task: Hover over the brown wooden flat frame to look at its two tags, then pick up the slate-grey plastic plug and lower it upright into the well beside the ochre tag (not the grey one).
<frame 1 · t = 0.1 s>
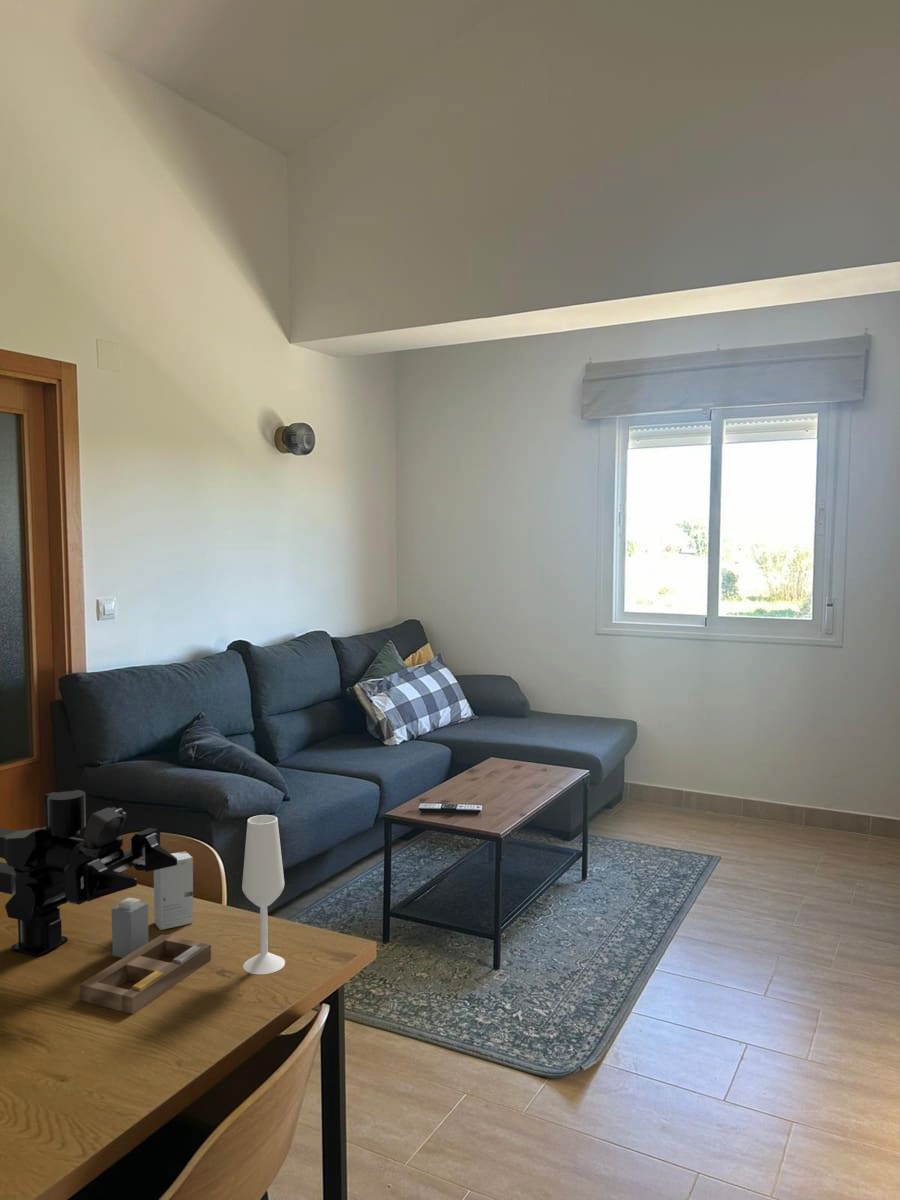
hand: (157, 871, 138), 17 cm above the table, tool horizontal, fingers open, 9 cm apart
plug: (130, 952, 146), on the table
skincare box: (174, 923, 158), on the table
champagne flute: (264, 965, 142), on the table
brown wooden flat frame: (148, 979, 137), on the table
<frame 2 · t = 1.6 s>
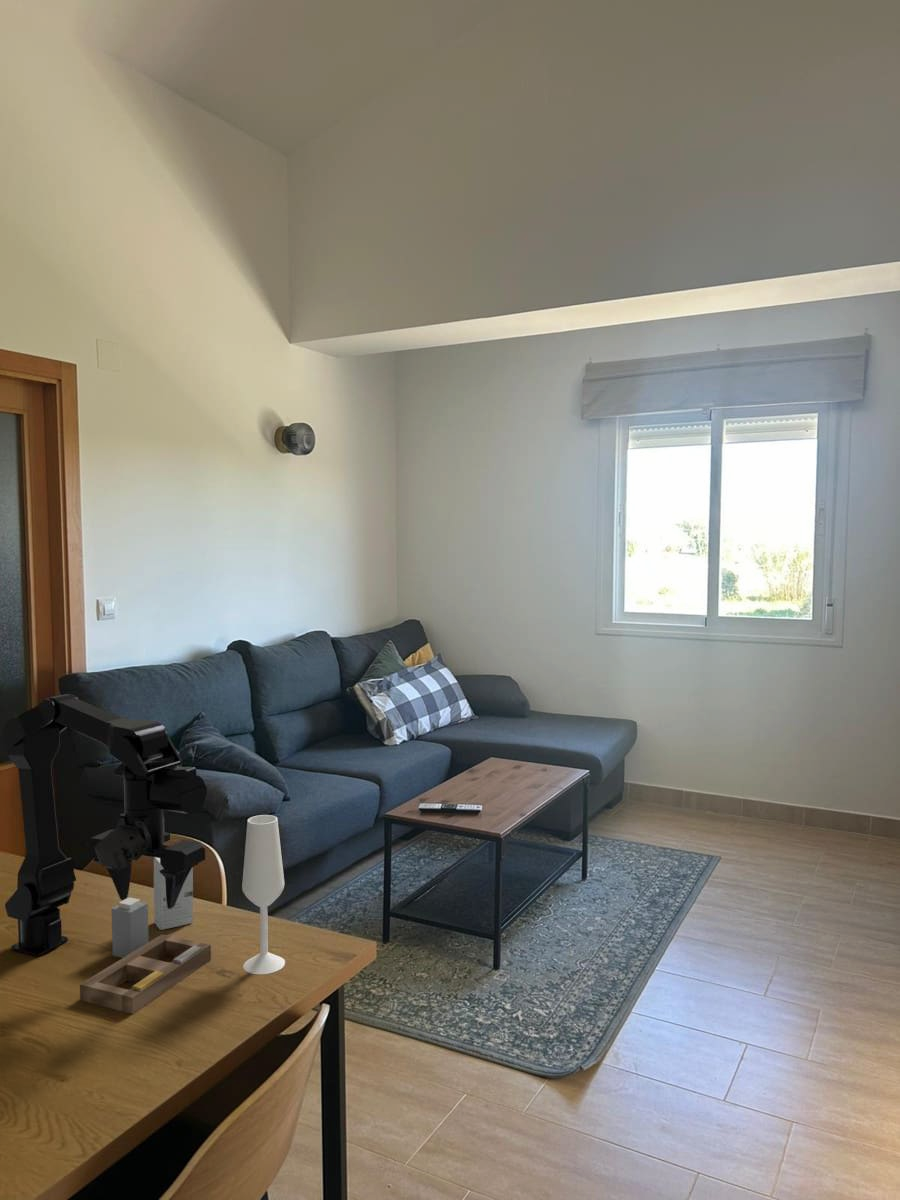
hand: (147, 903, 137), 12 cm above the table, tool pointing down, fingers open, 9 cm apart
nothing on the table moved.
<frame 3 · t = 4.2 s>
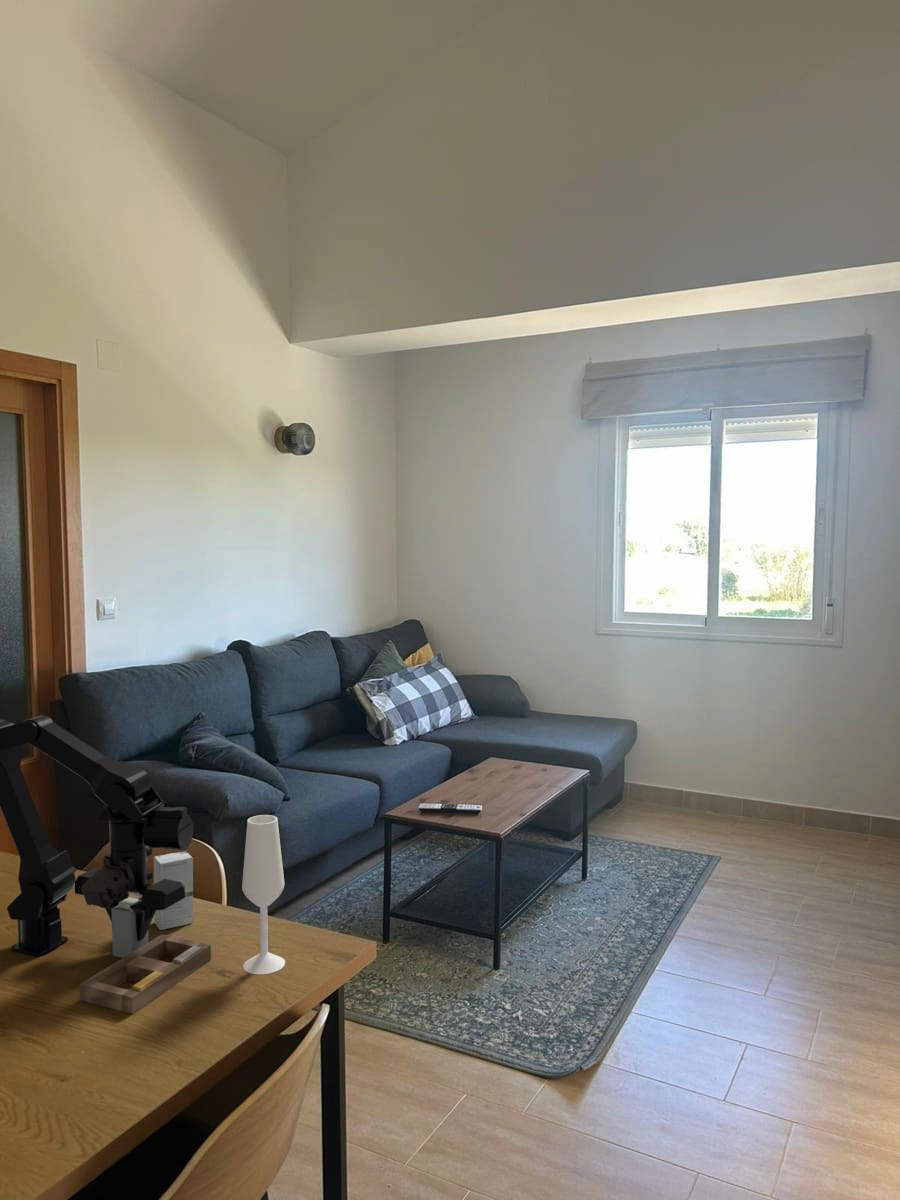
hand: (130, 937, 146), 3 cm above the table, tool pointing down, fingers closed on plug, 4 cm apart
plug: (130, 952, 146), on the table, touching gripper
everything else where it was.
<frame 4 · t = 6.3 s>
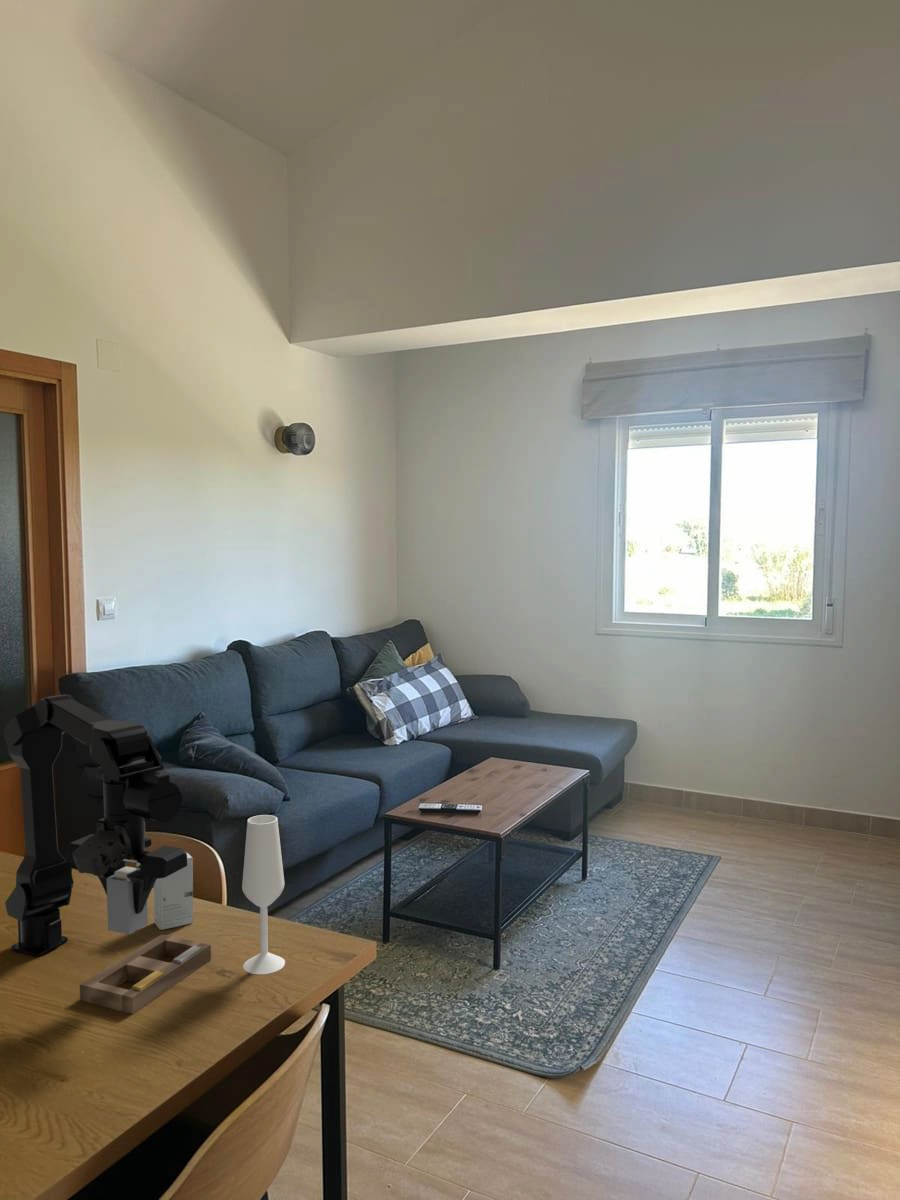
hand: (127, 910, 133), 13 cm above the table, tool pointing down, fingers closed on plug, 4 cm apart
plug: (128, 926, 133), point 10 cm above the table, touching gripper
everything else where it was.
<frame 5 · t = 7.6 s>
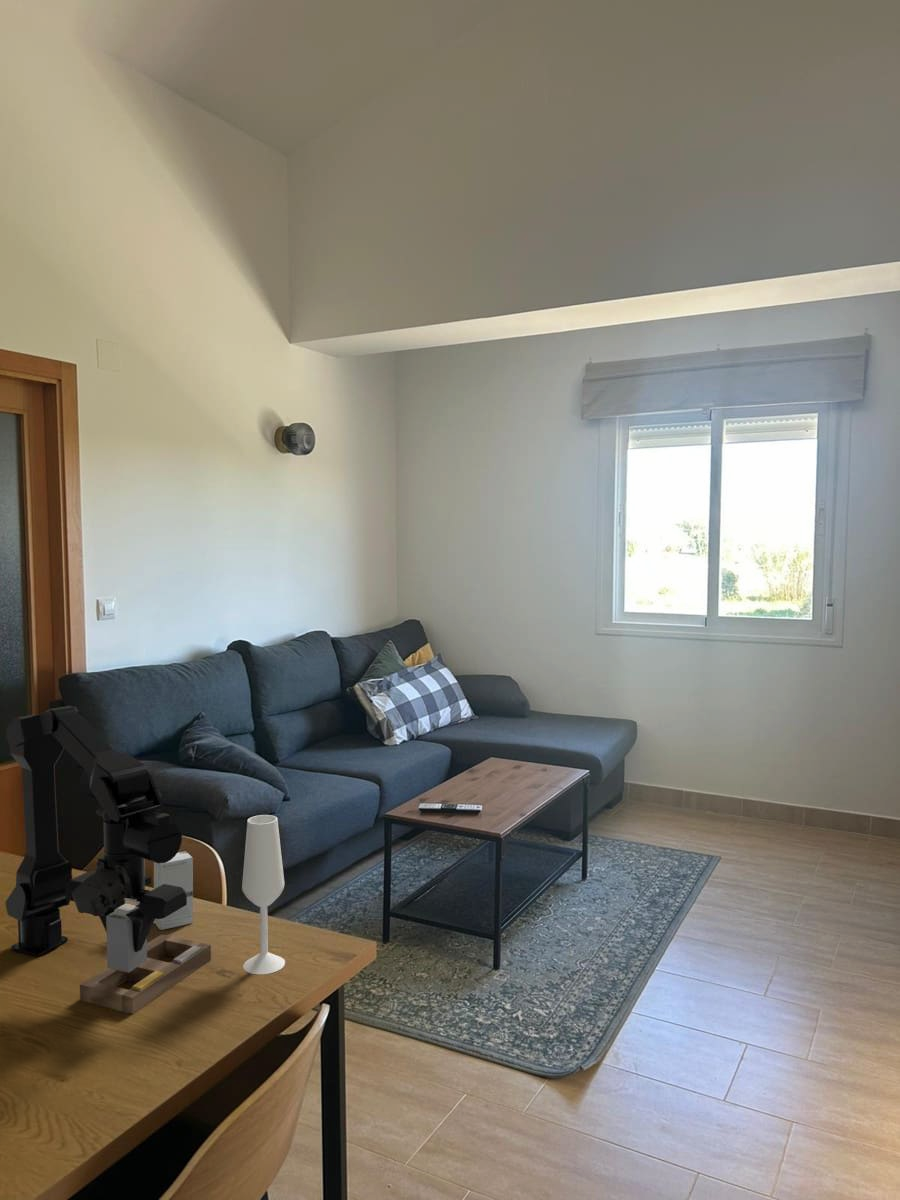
hand: (126, 948, 133), 7 cm above the table, tool pointing down, fingers closed on plug, 4 cm apart
plug: (127, 964, 133), point 4 cm above the table, touching gripper
everything else where it was.
when the fingers open (4 cm above the table, at t = 8.6 s): plug drops 2 cm, resting in brown wooden flat frame.
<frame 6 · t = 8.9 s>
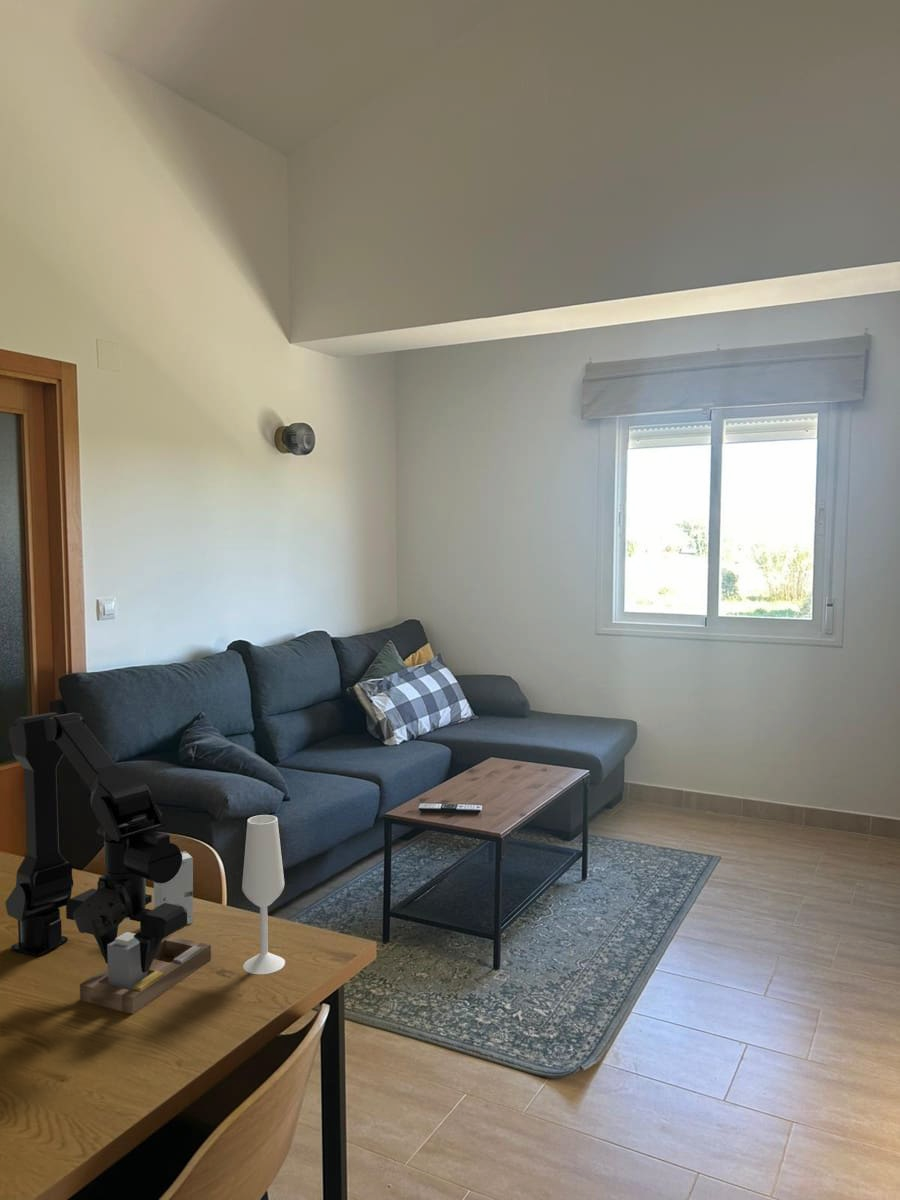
hand: (127, 967, 133), 4 cm above the table, tool pointing down, fingers open, 7 cm apart
plug: (128, 992, 133), resting in brown wooden flat frame
everything else where it was.
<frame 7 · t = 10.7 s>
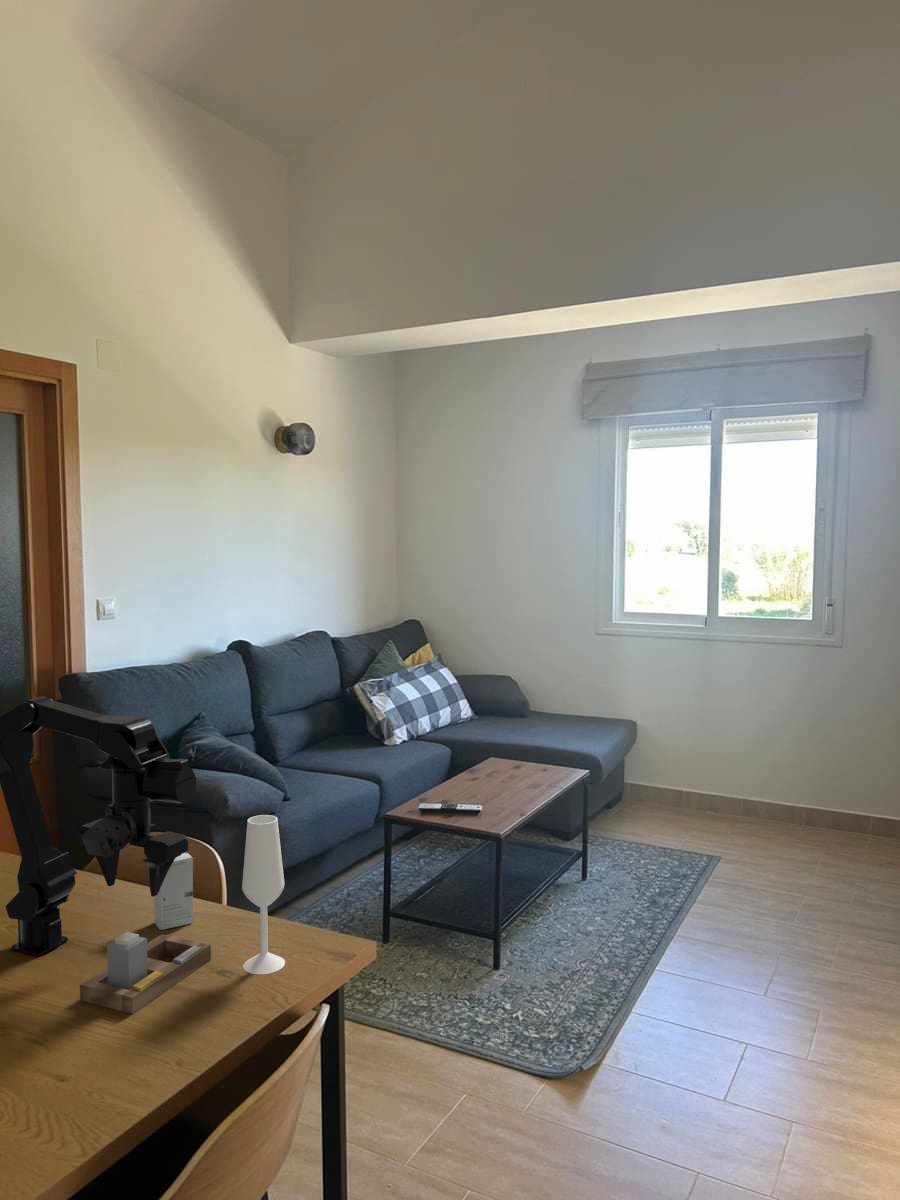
hand: (132, 890, 143), 12 cm above the table, tool pointing down, fingers open, 9 cm apart
nothing on the table moved.
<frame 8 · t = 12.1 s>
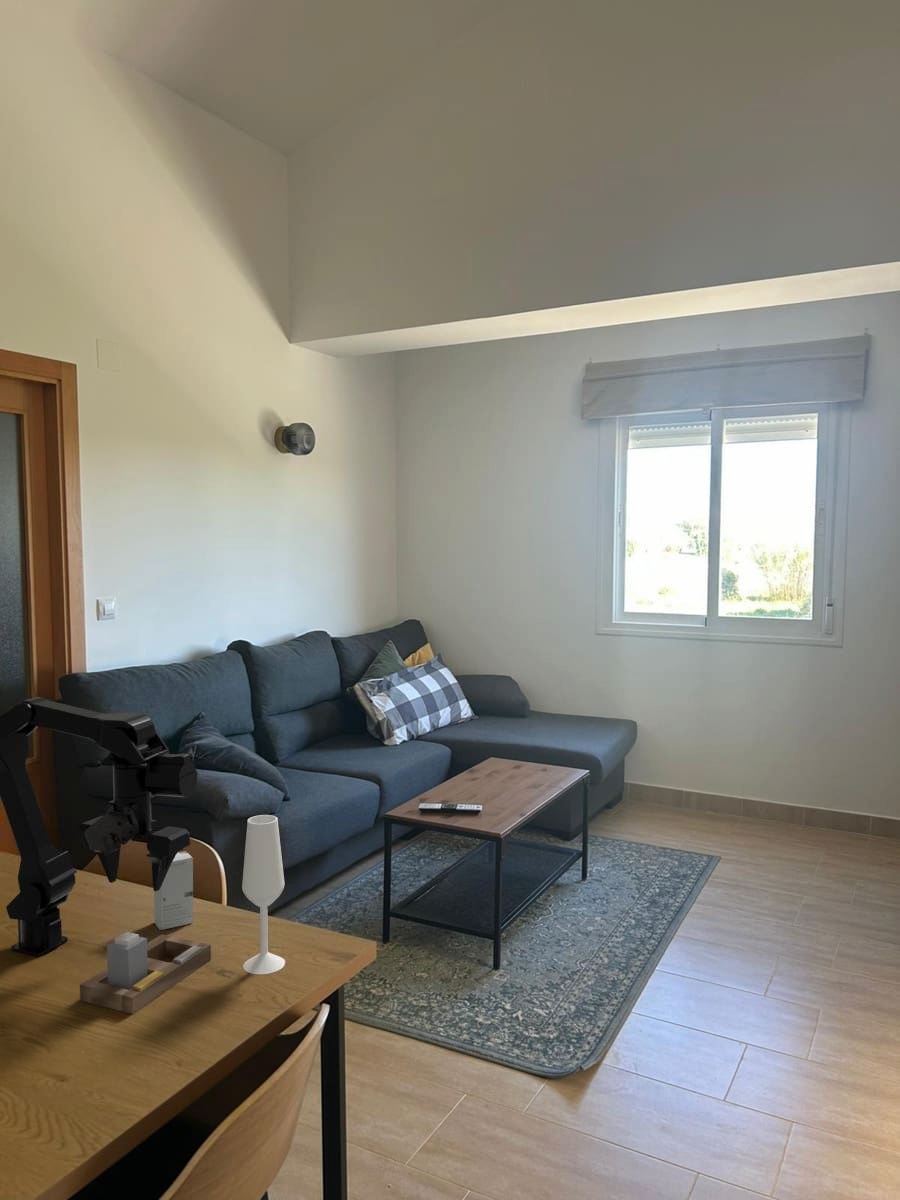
hand: (134, 886, 144), 12 cm above the table, tool pointing down, fingers open, 9 cm apart
nothing on the table moved.
at the end: plug 0.1 cm from the target spot on the brown wooden flat frame, point 0.0 cm above the brown wooden flat frame's base; plug tilted 0°; the gripper is holding nothing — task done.
